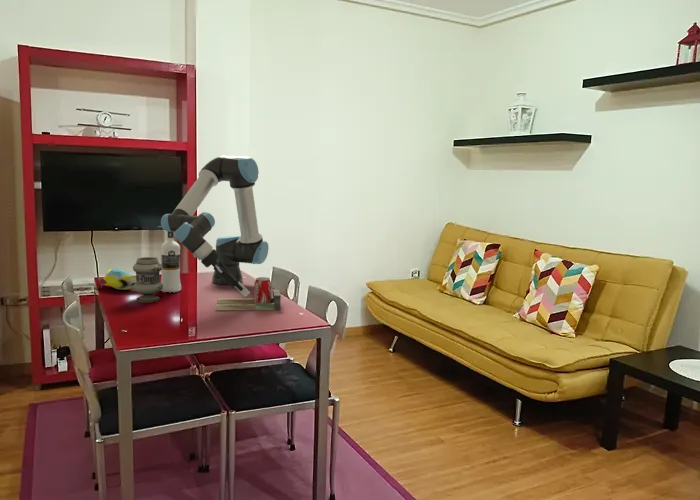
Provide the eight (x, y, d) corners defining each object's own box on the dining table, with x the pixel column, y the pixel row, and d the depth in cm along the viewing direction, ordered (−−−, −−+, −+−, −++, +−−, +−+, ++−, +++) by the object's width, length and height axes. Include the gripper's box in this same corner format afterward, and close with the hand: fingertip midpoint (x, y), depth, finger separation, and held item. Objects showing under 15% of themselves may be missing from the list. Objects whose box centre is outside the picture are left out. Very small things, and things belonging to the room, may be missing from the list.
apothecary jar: (132, 297, 245) (132, 256, 243) (161, 296, 250) (161, 255, 247) (133, 303, 234) (133, 260, 232) (164, 302, 239) (164, 260, 236)
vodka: (181, 288, 266) (181, 225, 262) (180, 292, 258) (180, 227, 254) (160, 288, 264) (160, 224, 260) (159, 293, 255) (159, 227, 251)
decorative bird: (126, 295, 249) (126, 274, 247) (85, 285, 264) (84, 266, 263) (152, 290, 260) (152, 270, 259) (111, 281, 276) (110, 262, 275)
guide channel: (217, 303, 241) (217, 289, 240) (278, 303, 245) (278, 289, 245) (215, 310, 229) (215, 295, 228) (280, 309, 234) (280, 295, 233)
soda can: (268, 309, 234) (268, 280, 233) (251, 307, 235) (252, 279, 234) (272, 305, 241) (273, 277, 239) (256, 304, 242) (257, 276, 240)
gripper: (201, 258, 237) (241, 297, 242) (199, 263, 224) (241, 304, 230) (214, 246, 237) (253, 285, 243) (212, 250, 225) (254, 291, 230)
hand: (247, 294), depth 236 cm, fingers closed
